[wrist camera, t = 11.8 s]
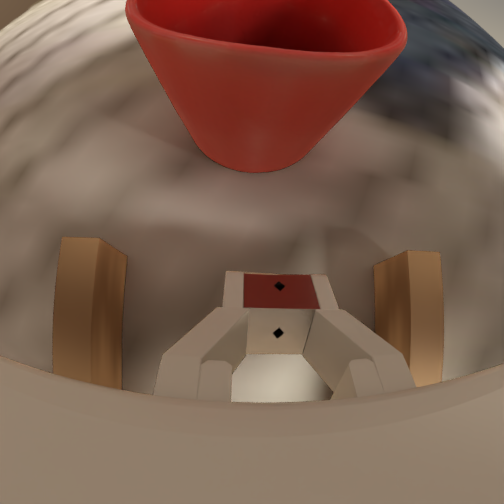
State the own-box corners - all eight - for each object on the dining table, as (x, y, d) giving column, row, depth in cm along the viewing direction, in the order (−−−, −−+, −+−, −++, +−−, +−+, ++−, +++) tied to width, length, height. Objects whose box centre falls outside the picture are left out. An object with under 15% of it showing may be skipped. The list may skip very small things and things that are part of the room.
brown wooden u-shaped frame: (364, 556, 10) (381, 581, 7) (122, 557, 9) (108, 584, 6) (403, 266, 15) (439, 252, 12) (94, 254, 14) (62, 236, 11)
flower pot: (280, 240, 15) (349, 118, 5) (130, 139, 16) (74, 12, 6) (365, 121, 17) (429, 13, 8) (235, 51, 18) (241, -58, 9)
